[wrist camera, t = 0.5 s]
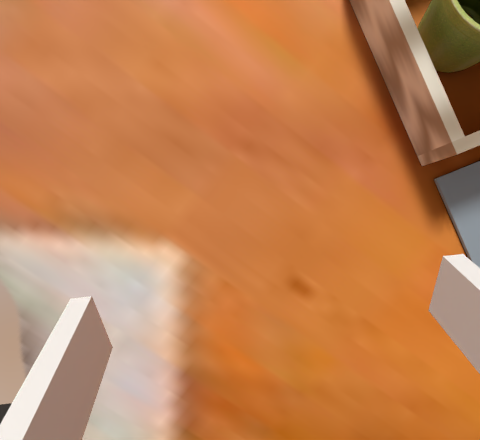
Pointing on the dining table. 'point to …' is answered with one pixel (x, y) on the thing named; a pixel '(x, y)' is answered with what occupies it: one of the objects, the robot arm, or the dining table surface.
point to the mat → (464, 206)
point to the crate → (412, 80)
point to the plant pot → (452, 34)
